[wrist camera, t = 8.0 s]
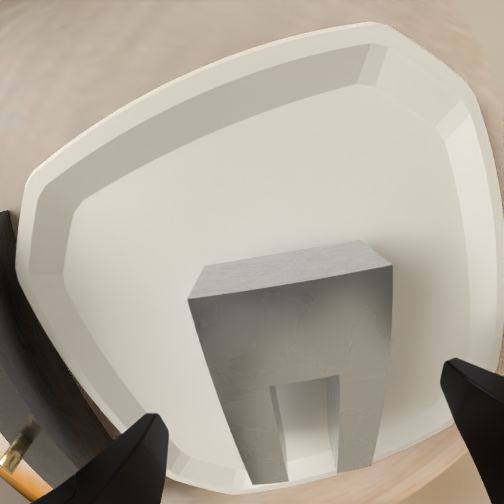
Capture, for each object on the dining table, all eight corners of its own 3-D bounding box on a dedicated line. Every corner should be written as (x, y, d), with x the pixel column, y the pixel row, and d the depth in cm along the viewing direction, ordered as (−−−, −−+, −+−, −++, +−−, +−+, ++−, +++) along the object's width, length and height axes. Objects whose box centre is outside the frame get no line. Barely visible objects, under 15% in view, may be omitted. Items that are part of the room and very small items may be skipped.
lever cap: (358, 425, 11) (371, 465, 9) (253, 443, 12) (252, 485, 9) (360, 239, 9) (392, 264, 7) (204, 265, 9) (187, 299, 7)
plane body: (141, 475, 16) (116, 556, 8) (75, 462, 16) (44, 527, 9) (7, 210, 11) (-117, 255, 3) (-44, 239, 11) (-129, 279, 3)
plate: (17, 203, 11) (-13, 210, 9) (418, 32, 8) (442, 15, 6) (195, 475, 16) (191, 499, 14) (477, 381, 14) (493, 400, 11)
